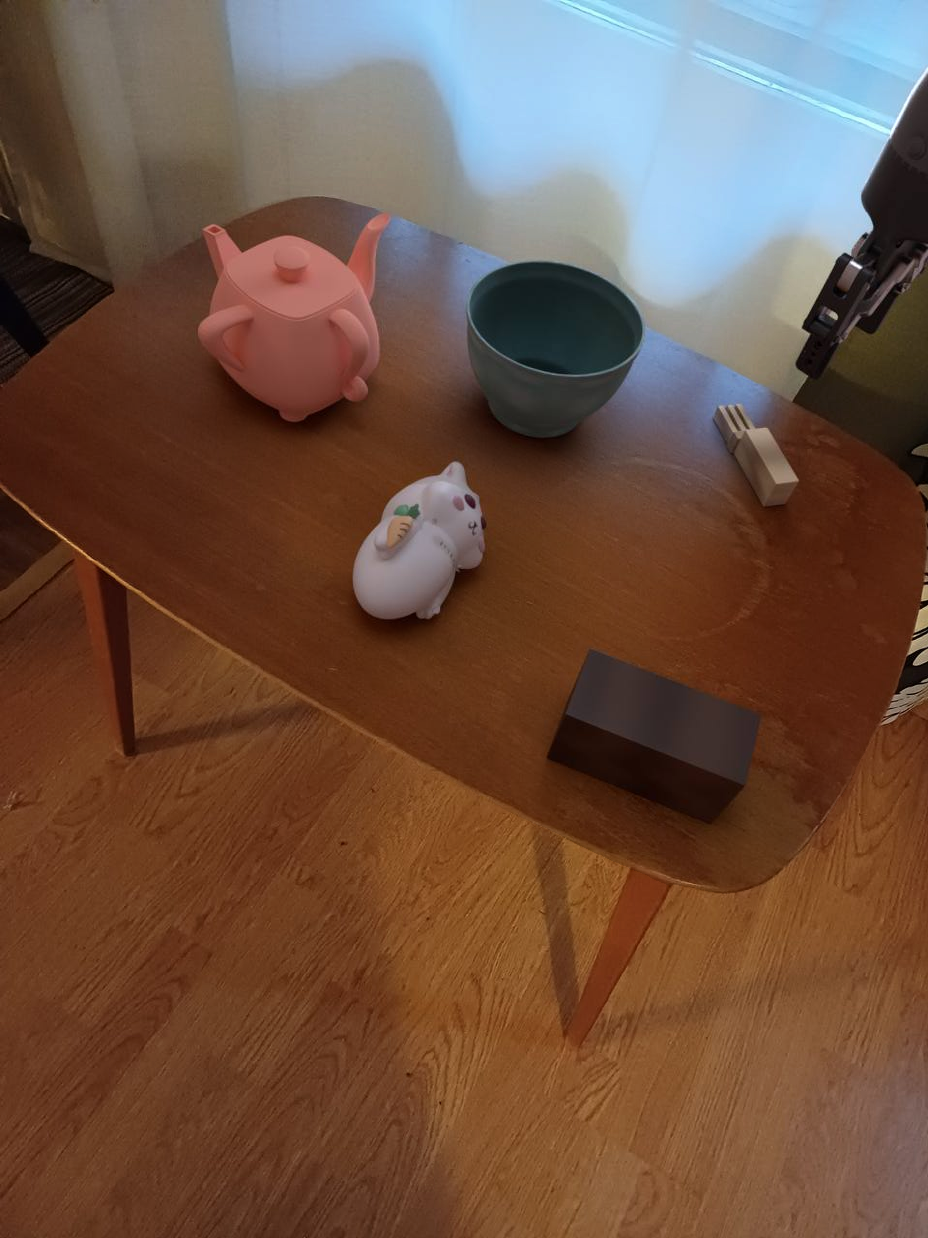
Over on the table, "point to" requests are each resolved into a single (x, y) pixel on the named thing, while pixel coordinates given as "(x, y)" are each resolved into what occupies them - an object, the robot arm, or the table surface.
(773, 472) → the fork
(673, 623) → the table surface
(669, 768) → the stand
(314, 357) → the teapot
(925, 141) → the robot arm
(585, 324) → the flower pot
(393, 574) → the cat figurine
